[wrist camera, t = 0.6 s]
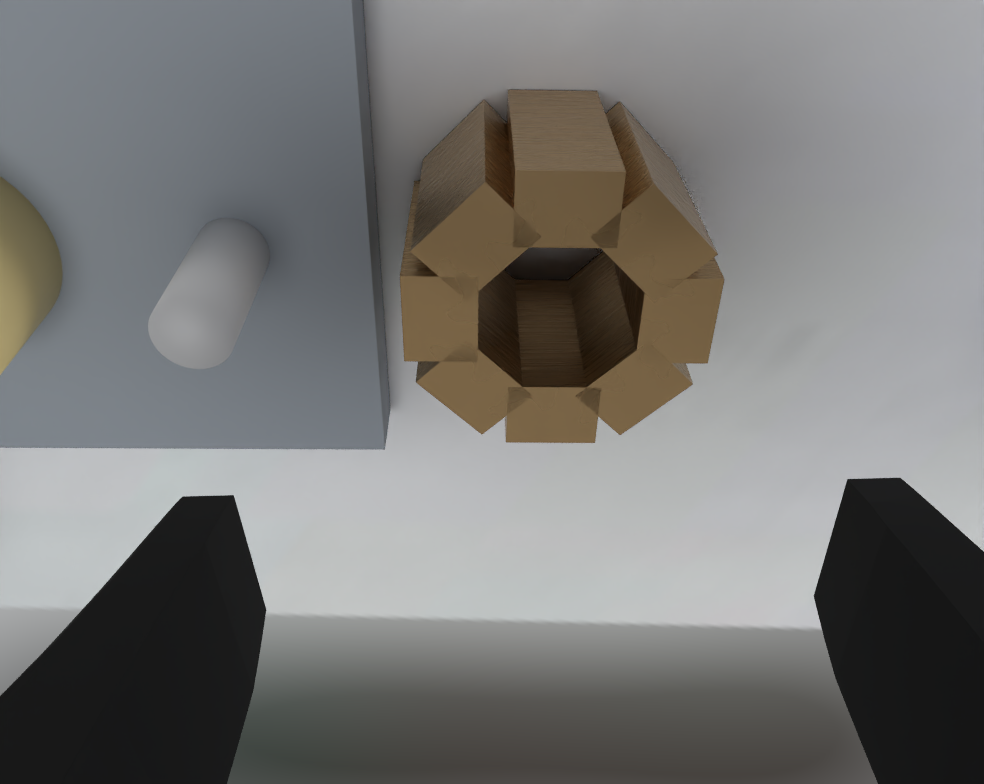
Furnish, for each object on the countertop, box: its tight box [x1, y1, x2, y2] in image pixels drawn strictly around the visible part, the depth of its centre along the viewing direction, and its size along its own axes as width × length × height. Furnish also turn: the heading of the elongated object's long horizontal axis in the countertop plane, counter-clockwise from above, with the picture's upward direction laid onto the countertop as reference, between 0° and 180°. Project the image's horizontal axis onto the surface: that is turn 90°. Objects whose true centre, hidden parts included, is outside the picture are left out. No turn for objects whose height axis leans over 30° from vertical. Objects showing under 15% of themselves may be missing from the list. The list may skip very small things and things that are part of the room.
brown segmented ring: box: [400, 90, 724, 443], centre depth 16 cm, size 5×5×4 cm
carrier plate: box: [0, 0, 390, 449], centre depth 16 cm, size 10×10×5 cm
